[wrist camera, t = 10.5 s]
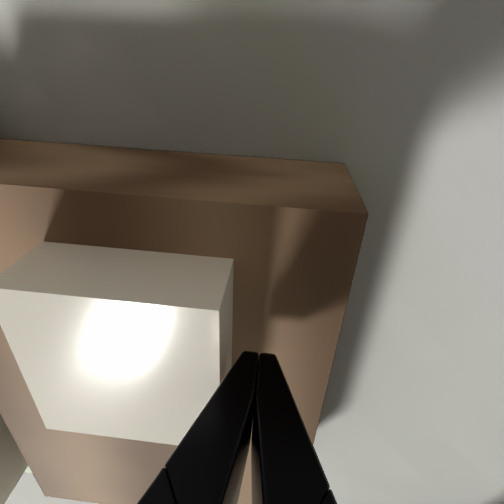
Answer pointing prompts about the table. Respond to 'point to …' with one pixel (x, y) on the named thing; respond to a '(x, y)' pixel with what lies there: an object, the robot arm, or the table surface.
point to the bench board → (190, 243)
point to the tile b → (119, 337)
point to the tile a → (9, 462)
